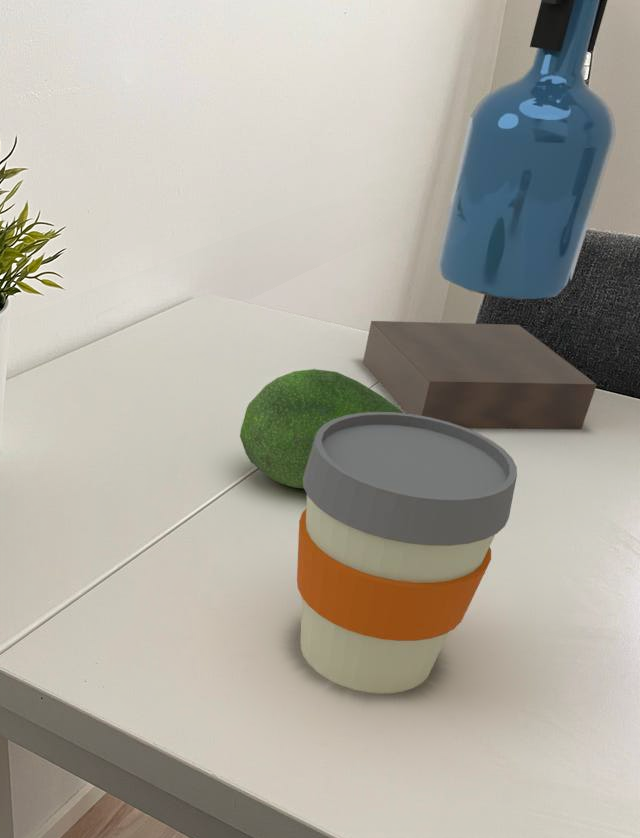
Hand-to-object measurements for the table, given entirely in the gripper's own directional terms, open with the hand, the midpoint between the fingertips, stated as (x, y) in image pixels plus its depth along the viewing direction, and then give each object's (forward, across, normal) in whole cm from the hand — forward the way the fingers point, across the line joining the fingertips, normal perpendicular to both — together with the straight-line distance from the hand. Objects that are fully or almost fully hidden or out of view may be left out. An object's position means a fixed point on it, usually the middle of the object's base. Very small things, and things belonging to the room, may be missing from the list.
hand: (561, 48), depth 89 cm
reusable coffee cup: (+33, +46, +25) cm, 62 cm away
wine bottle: (+21, 0, 0) cm, 21 cm away
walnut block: (+33, -1, -1) cm, 33 cm away
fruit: (+33, +30, +6) cm, 45 cm away
